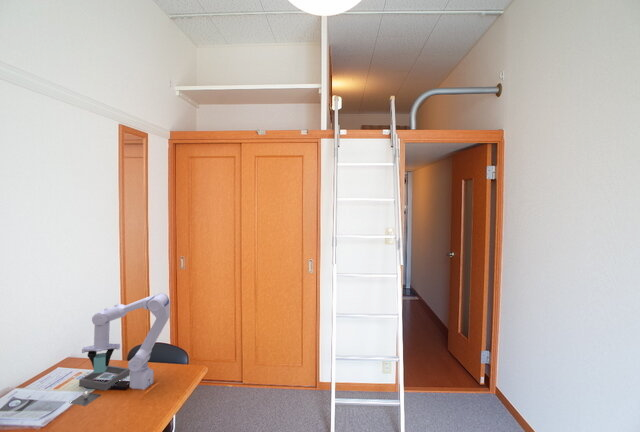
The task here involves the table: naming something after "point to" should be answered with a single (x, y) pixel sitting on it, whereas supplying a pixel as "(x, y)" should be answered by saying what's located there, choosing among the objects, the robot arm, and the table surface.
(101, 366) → the socket block
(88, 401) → the stud plate
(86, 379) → the bin
